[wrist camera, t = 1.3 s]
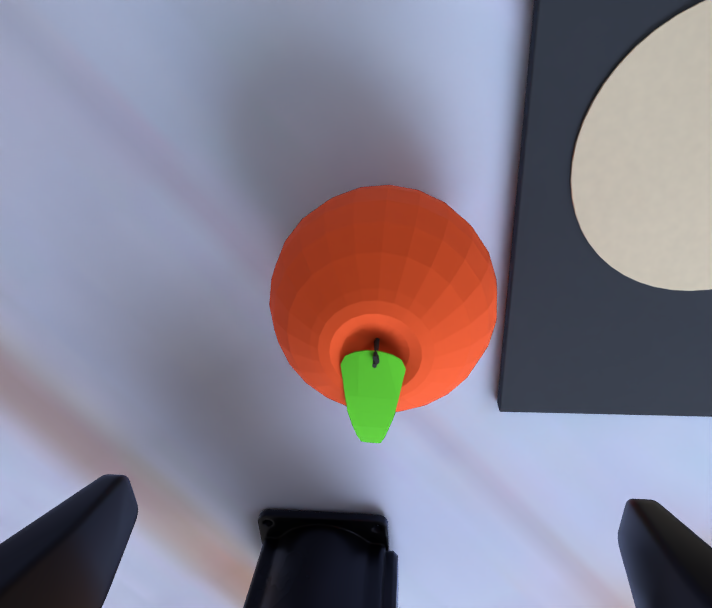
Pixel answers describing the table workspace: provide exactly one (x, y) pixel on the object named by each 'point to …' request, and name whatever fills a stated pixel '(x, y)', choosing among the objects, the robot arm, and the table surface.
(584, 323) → the placemat
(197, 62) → the table surface
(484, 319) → the clementine
